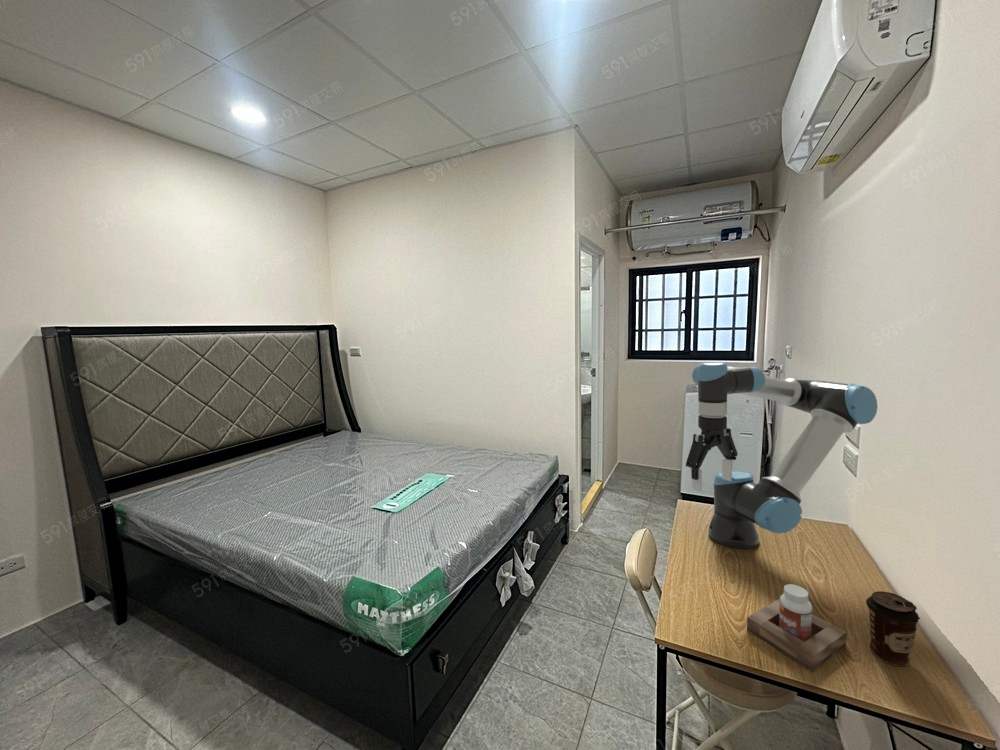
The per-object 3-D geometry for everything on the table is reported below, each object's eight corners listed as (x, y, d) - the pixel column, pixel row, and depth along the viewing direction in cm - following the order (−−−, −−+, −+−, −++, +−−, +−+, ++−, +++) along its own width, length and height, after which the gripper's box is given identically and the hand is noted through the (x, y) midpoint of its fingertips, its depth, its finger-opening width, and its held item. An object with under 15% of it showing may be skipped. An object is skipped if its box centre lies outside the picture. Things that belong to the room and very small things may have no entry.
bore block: (780, 610, 105) (781, 597, 105) (845, 646, 93) (846, 632, 92) (747, 630, 99) (747, 617, 99) (811, 671, 87) (812, 656, 86)
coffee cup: (928, 665, 87) (931, 609, 85) (901, 676, 84) (904, 619, 83) (880, 637, 95) (882, 585, 94) (854, 646, 93) (857, 593, 91)
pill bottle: (772, 626, 99) (773, 584, 97) (794, 622, 100) (795, 580, 98) (794, 646, 92) (796, 600, 91) (818, 641, 93) (819, 596, 92)
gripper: (727, 407, 129) (727, 472, 131) (672, 419, 118) (672, 489, 120) (751, 411, 122) (750, 479, 124) (694, 423, 111) (695, 498, 113)
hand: (712, 484), depth 122 cm, fingers open, 13 cm apart
